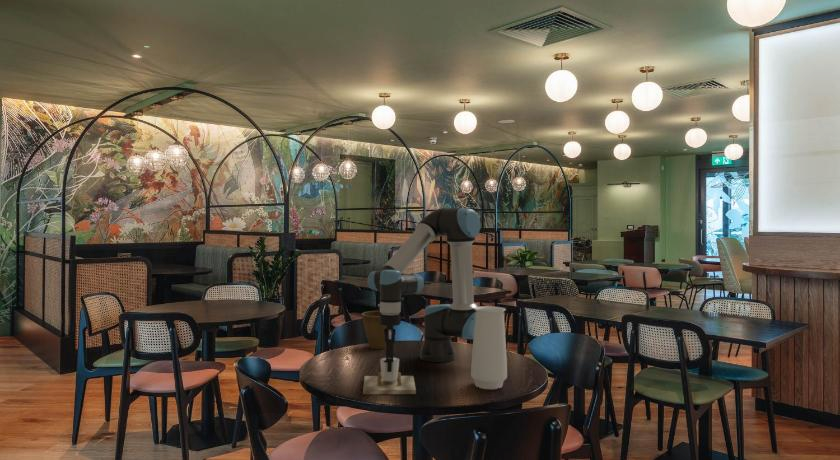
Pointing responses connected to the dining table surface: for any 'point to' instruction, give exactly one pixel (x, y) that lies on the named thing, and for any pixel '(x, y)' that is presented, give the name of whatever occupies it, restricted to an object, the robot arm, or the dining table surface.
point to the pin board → (389, 385)
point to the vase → (489, 348)
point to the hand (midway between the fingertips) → (389, 377)
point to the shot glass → (395, 367)
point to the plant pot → (374, 329)
